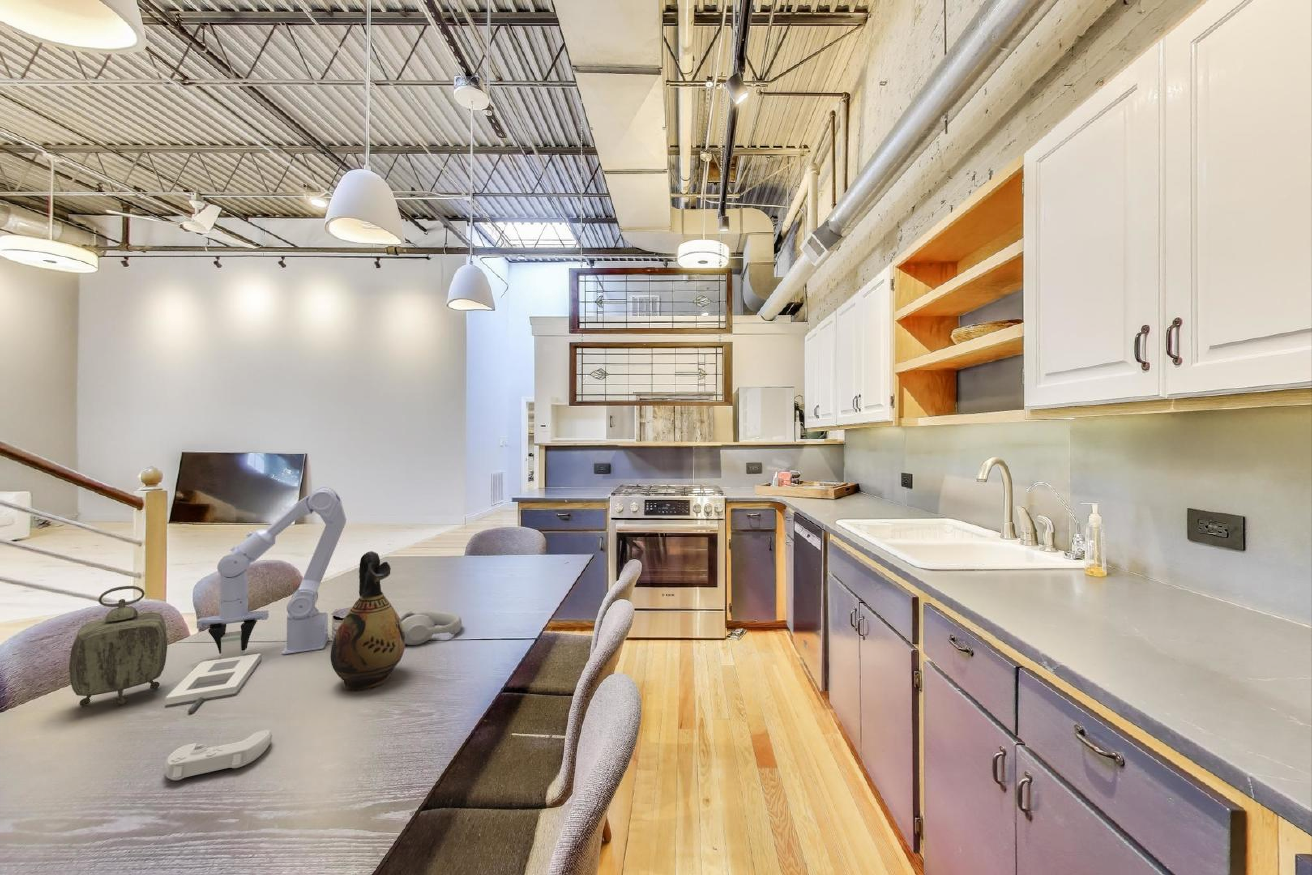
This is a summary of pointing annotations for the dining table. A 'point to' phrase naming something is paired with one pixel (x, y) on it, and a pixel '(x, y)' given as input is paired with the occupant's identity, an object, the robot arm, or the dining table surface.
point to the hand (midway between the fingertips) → (233, 650)
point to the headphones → (427, 625)
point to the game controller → (215, 756)
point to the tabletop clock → (118, 651)
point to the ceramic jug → (368, 632)
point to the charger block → (231, 645)
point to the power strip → (213, 681)
